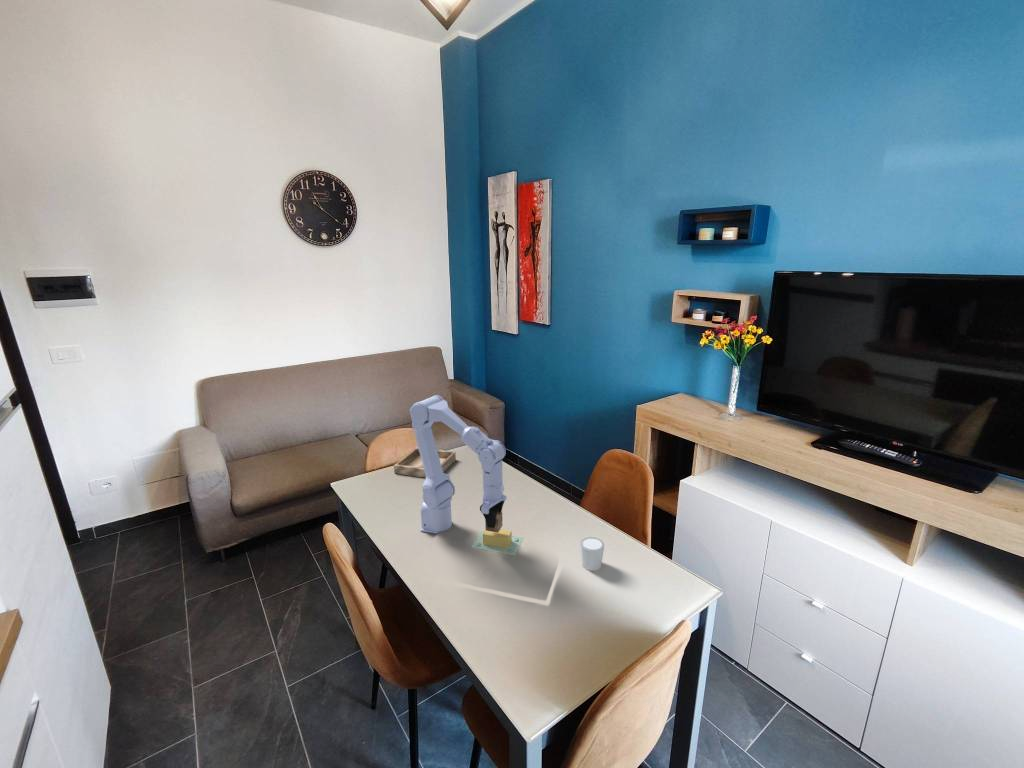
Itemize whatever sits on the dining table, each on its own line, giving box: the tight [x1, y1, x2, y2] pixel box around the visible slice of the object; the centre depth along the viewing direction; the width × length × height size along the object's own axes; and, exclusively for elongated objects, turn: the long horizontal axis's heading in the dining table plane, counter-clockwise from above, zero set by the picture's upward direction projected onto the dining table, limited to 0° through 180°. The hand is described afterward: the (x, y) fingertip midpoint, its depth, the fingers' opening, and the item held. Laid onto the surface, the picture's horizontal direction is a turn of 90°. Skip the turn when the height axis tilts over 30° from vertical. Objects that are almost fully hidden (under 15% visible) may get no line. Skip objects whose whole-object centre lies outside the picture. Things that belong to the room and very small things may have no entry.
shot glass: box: [579, 536, 605, 572], centre depth 135 cm, size 7×7×7 cm
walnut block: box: [484, 511, 503, 533], centre depth 142 cm, size 4×4×4 cm
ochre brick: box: [483, 528, 513, 549], centre depth 145 cm, size 8×4×4 cm, turn 73°
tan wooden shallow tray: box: [393, 446, 457, 479], centre depth 199 cm, size 19×19×4 cm
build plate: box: [470, 530, 524, 556], centre depth 145 cm, size 14×9×1 cm, turn 73°
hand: (493, 522), depth 142 cm, fingers closed on walnut block, 4 cm apart
